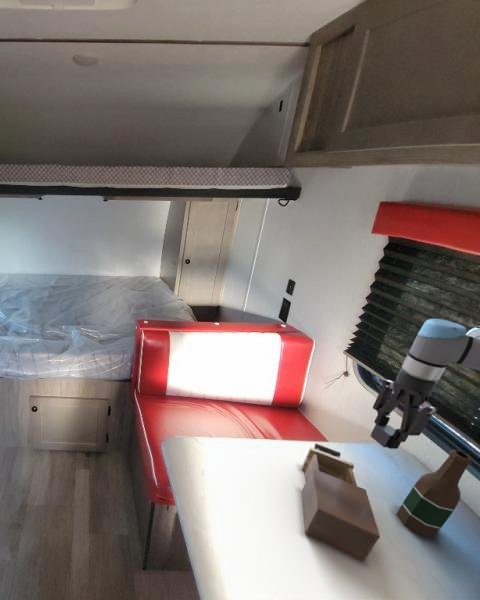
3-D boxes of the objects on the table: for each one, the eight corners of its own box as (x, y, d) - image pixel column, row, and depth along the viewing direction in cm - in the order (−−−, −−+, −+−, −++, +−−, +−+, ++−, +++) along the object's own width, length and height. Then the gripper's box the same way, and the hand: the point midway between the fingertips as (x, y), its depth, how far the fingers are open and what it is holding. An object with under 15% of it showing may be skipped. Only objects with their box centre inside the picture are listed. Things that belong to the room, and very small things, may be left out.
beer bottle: (397, 527, 84) (444, 456, 75) (391, 505, 90) (435, 436, 81) (439, 548, 80) (494, 475, 71) (430, 523, 86) (480, 452, 77)
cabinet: (300, 493, 90) (312, 468, 87) (350, 515, 86) (365, 489, 82) (303, 536, 79) (317, 508, 76) (362, 564, 75) (380, 536, 71)
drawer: (300, 456, 102) (308, 436, 99) (339, 471, 98) (350, 451, 95) (304, 499, 88) (314, 477, 85) (351, 519, 84) (363, 498, 81)
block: (383, 436, 101) (389, 424, 99) (397, 447, 97) (403, 435, 95) (370, 436, 100) (376, 424, 99) (383, 447, 96) (390, 435, 95)
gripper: (468, 394, 82) (426, 465, 91) (400, 357, 99) (369, 420, 107) (442, 393, 82) (401, 465, 90) (377, 356, 98) (348, 420, 106)
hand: (384, 440), depth 98 cm, fingers closed on block, 4 cm apart
